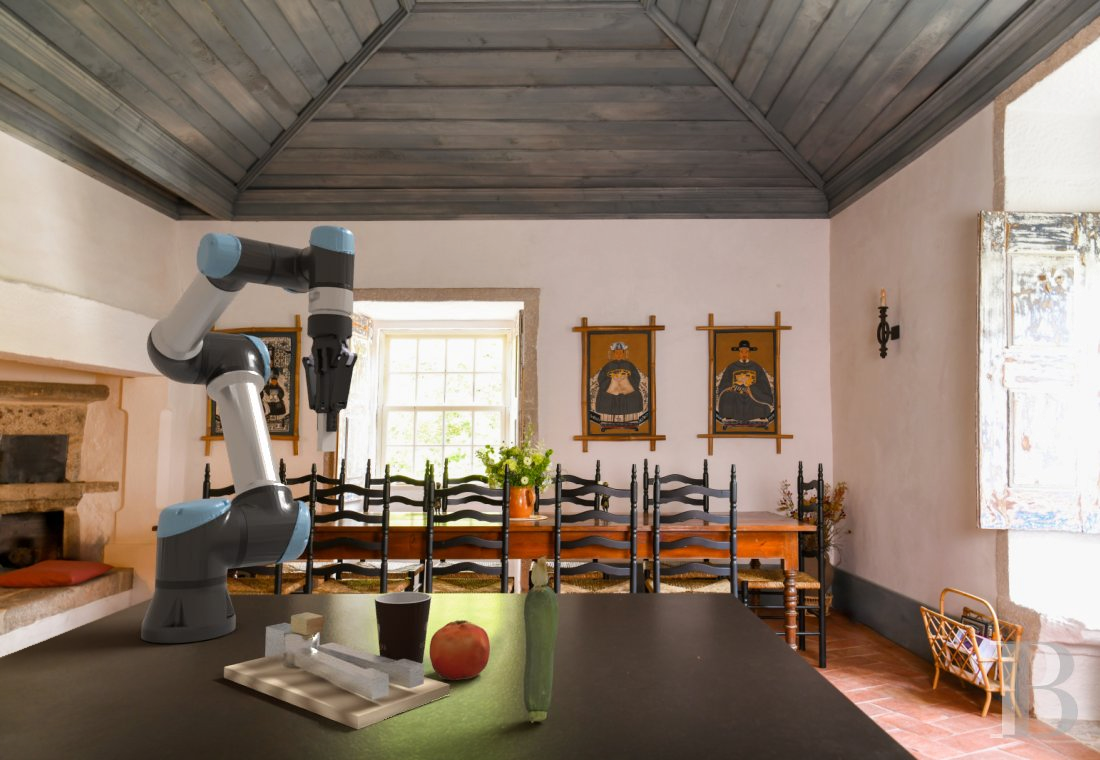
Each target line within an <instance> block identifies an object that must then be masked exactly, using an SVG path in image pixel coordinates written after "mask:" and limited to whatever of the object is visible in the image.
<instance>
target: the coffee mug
mask: <svg viewBox="0 0 1100 760" xmlns="http://www.w3.org/2000/svg"><path fill="white" fill-rule="evenodd" d="M431 603H432V595H430V594H429V593H426V592H418V591H399V592H398V591H397V592H388V593H383V594H380V595H377V596H375V597H374V605H375V614H376V615H375V618H376V627H377V629H376V630H377V639H378V640H377V641H378V649H379V656H382V657H386V658H390V659H393V660H397V661H398V660H401V659H407V660H410V661H414V662H418V663H421V664H422V663H423V664H424V657H425V647H426V642H427V633H428V625H429V617H430V610H431Z"/></svg>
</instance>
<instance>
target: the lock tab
mask: <svg viewBox="0 0 1100 760" xmlns="http://www.w3.org/2000/svg"><path fill="white" fill-rule="evenodd" d="M290 624H291V631H293V632H297V633H300V634H304V635H310V634H314V633H319V632H320V633H322V632H324V616H323V615H320V614H316V613H312V612H307V611H306V612H301V613H297V614H292V615H291V616H290Z"/></svg>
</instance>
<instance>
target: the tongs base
mask: <svg viewBox="0 0 1100 760" xmlns="http://www.w3.org/2000/svg"><path fill="white" fill-rule="evenodd" d="M265 629H266V630H265V652H264V657H267V658H270V659H273V660H276V661H279V662H282V663H283V666H284V667H287V668H299V667H297V666H295V651H296V650H301V649H306V648H313V649H316V650H318V651H321V652H323V653H326V654H328V655H331V656H333V657H336V658H338V659H341V660H343V661H346V662H348V663H351V664H353V665H356V666H358V667H361V668H363V669H368V668H373V669H376V670H378V671H381V672H384V673H386V674H389V682H390V683H393V684H396V685H400V686H403V687H406V688H409V689H410V688H413V687H416V686H419V685H422V684H424V677H425V664H424V663H423V664H421V663H418V662H414V661H410V660H407V659H401V660H398V661H397V660H393V659H390V658H386V657H382V656H380V654H379V655H378V654H375V653H372V652H368V651H364V650H361V649H358V648H357V649H356V648H355V647H349V646H346V645H342V644H339V643H336V642H329V643H328V642H327V643H325V644H320V635H321V634H320V633H321V632H319V633H314V634H310V635H304V634H300V633H297V632H293V631H291V623H287V622H281V623H278V624H276V623H275V624H273V625H268V626H265Z"/></svg>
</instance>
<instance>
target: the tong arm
mask: <svg viewBox="0 0 1100 760" xmlns="http://www.w3.org/2000/svg"><path fill="white" fill-rule="evenodd" d="M295 666H297V667H299V668H302V669H304V670H306V671H308V672H311V673H313V674H315V675H317V676H320V677H322V678H324V679H326V680H328V681H331V682H333V683H335V684H337V685H340V686H342V687H344V688H346V689H349V690H351V691H353V692H355V693H357V694H360V695H362V696H364V697H366V698H369V699H371V700H373V699H377V698H380V697H384V696H387V695H388V693H389V674H386V673H384V672H381V671H378V670H376V669H373V668H368V669H363V668H361V667H358V666H356V665H353V664H351V663H348V662H346V661H343V660H341V659H338V658H336V657H333V656H331V655H328V654H326V653H323V652H321V651H318V650H316V649H313V648H306V649H301V650H296V651H295Z"/></svg>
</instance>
